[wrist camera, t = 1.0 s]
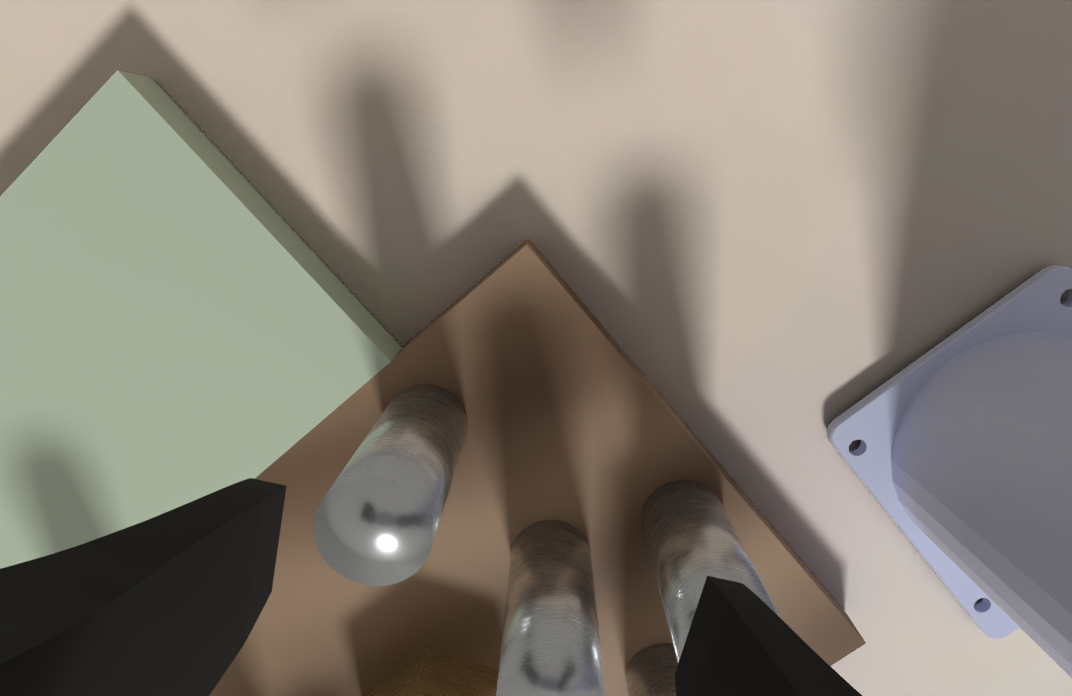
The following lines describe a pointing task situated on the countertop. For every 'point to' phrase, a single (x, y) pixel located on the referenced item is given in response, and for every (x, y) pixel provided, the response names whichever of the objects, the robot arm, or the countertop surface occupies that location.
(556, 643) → the spacers
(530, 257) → the board
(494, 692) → the nut
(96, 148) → the pad
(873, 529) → the countertop surface
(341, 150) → the countertop surface
